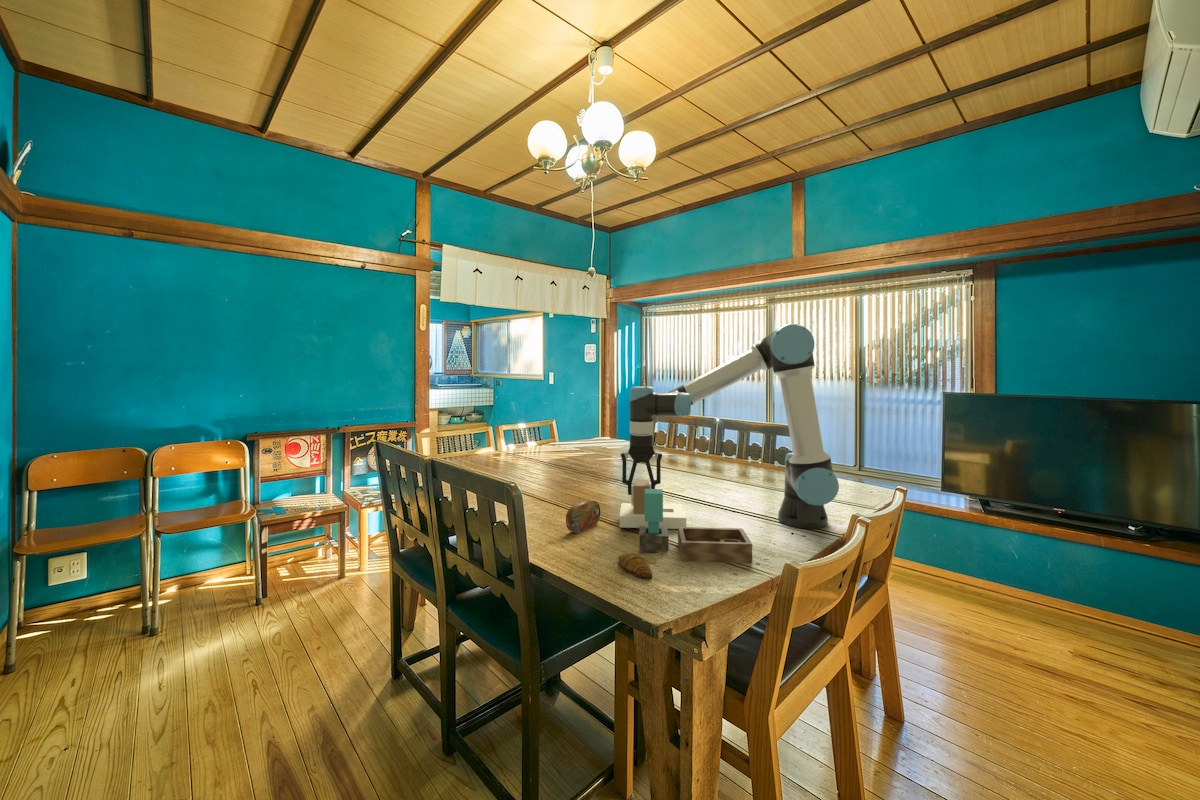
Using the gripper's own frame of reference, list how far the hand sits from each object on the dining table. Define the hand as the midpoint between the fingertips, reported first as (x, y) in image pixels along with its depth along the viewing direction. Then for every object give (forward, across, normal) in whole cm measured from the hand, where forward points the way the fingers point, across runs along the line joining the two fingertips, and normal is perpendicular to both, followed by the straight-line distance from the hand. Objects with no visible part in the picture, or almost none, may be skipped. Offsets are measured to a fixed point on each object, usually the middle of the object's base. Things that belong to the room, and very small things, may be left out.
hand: (641, 504), depth 156 cm
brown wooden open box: (+7, -19, +25) cm, 32 cm away
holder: (+7, -3, +20) cm, 21 cm away
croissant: (+7, +2, +36) cm, 36 cm away
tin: (+7, +19, +5) cm, 20 cm away
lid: (+5, -4, 0) cm, 6 cm away
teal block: (+6, -3, +20) cm, 21 cm away
